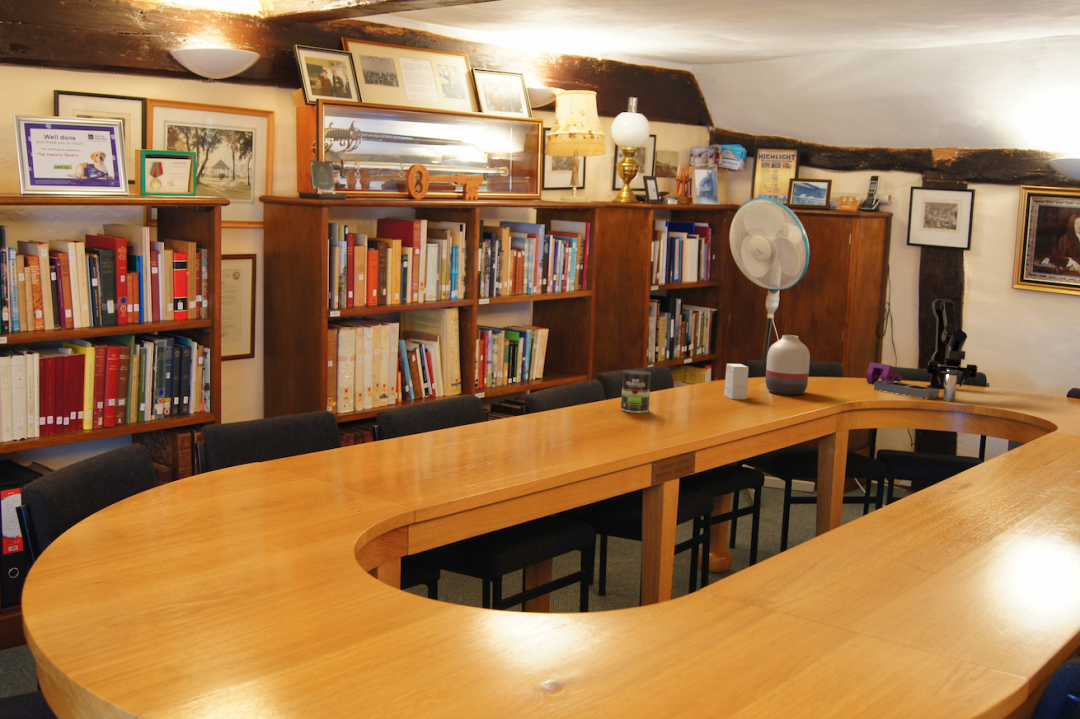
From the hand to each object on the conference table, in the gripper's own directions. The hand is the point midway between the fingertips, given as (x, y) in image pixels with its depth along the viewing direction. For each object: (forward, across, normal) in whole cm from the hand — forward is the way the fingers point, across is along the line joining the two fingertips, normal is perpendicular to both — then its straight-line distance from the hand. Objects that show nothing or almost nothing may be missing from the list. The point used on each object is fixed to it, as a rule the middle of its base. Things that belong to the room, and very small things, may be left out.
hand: (950, 385), depth 388 cm
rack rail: (-1, -17, +10) cm, 20 cm away
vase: (+20, -62, -10) cm, 66 cm away
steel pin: (+4, 0, +6) cm, 7 cm away
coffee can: (+70, -106, -60) cm, 140 cm away
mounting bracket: (-17, -26, +27) cm, 41 cm away
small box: (+36, -79, -27) cm, 91 cm away
